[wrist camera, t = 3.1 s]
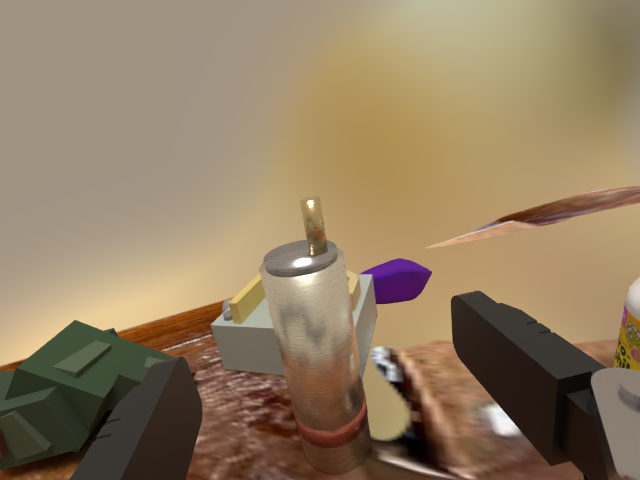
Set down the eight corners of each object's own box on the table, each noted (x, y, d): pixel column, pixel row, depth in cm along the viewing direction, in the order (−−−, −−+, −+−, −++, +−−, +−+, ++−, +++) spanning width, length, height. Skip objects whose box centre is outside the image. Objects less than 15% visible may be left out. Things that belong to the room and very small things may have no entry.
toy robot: (103, 540, 26) (158, 443, 24) (-95, 438, 25) (-60, 326, 23) (175, 430, 37) (217, 356, 35) (40, 357, 36) (73, 277, 34)
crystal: (325, 274, 47) (423, 250, 46) (333, 302, 48) (428, 279, 47) (325, 289, 42) (435, 263, 41) (334, 319, 44) (440, 295, 43)
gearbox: (196, 366, 37) (174, 304, 34) (247, 310, 48) (233, 260, 45) (361, 384, 30) (350, 309, 28) (377, 315, 41) (370, 256, 38)
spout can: (291, 466, 24) (225, 217, 17) (314, 405, 29) (269, 195, 23) (364, 482, 22) (320, 209, 16) (375, 413, 27) (345, 187, 21)
